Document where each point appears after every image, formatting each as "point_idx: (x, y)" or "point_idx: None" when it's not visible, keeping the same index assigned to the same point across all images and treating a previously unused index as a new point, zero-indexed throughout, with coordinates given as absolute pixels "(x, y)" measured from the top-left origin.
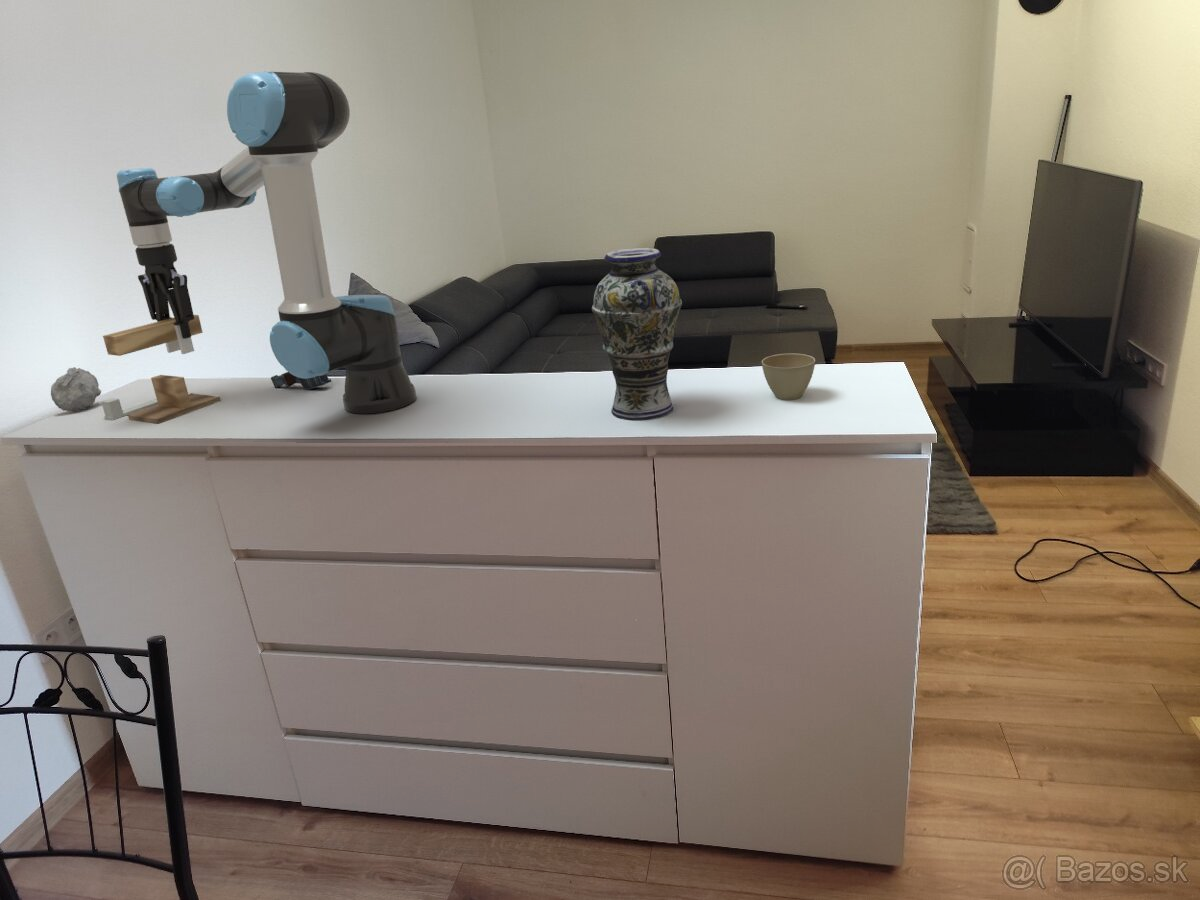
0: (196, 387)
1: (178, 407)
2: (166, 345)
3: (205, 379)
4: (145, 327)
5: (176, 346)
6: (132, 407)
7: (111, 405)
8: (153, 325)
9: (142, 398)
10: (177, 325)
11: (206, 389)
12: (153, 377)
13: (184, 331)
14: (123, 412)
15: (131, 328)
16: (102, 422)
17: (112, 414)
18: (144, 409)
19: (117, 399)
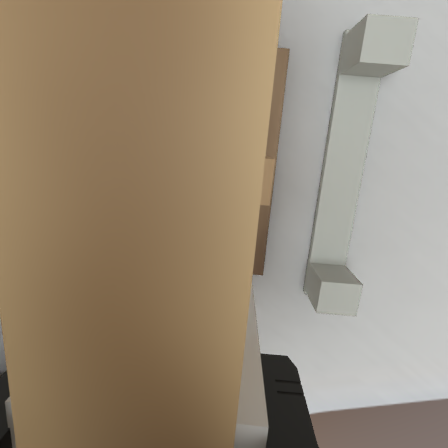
0: (333, 344)
1: None
2: (251, 305)
3: (368, 403)
4: (75, 114)
5: None
6: (363, 135)
7: (359, 26)
8: (72, 240)
9: (430, 235)
10: (8, 404)
11: (283, 334)
12: (267, 166)
13: (5, 372)
14: (349, 84)
15: (278, 2)
16: (363, 4)
17: (349, 32)
18: (280, 112)
19: (361, 55)
